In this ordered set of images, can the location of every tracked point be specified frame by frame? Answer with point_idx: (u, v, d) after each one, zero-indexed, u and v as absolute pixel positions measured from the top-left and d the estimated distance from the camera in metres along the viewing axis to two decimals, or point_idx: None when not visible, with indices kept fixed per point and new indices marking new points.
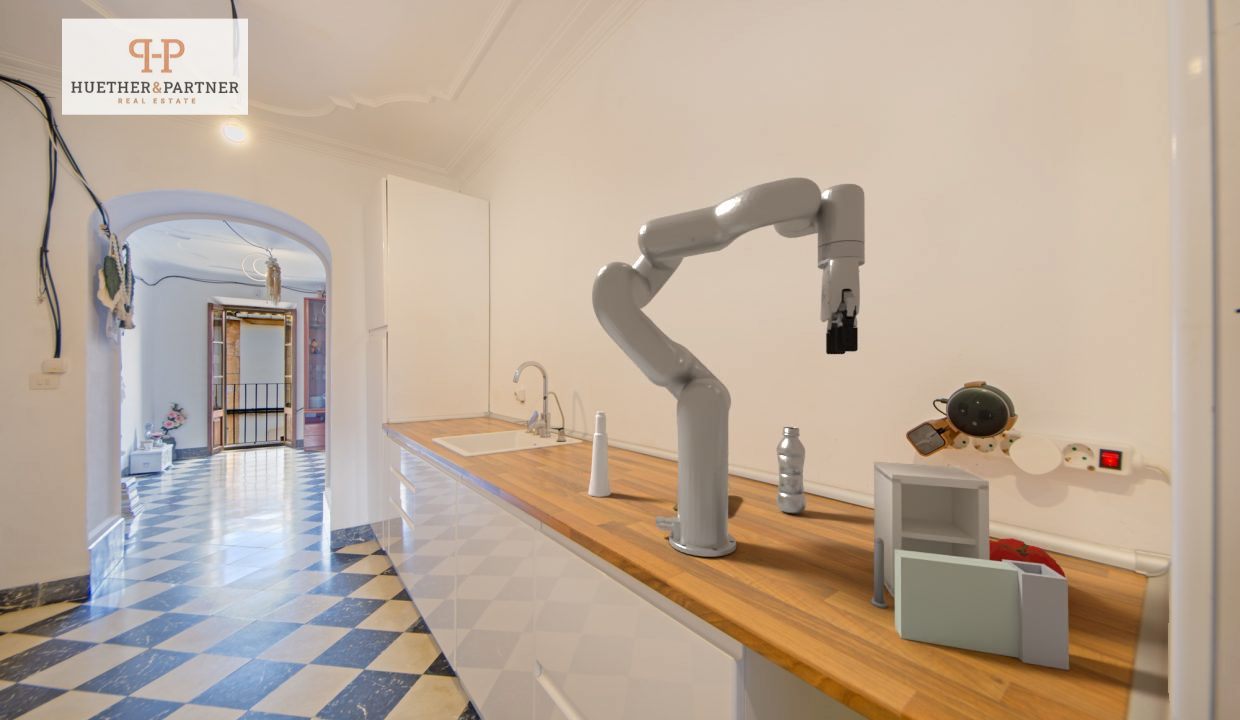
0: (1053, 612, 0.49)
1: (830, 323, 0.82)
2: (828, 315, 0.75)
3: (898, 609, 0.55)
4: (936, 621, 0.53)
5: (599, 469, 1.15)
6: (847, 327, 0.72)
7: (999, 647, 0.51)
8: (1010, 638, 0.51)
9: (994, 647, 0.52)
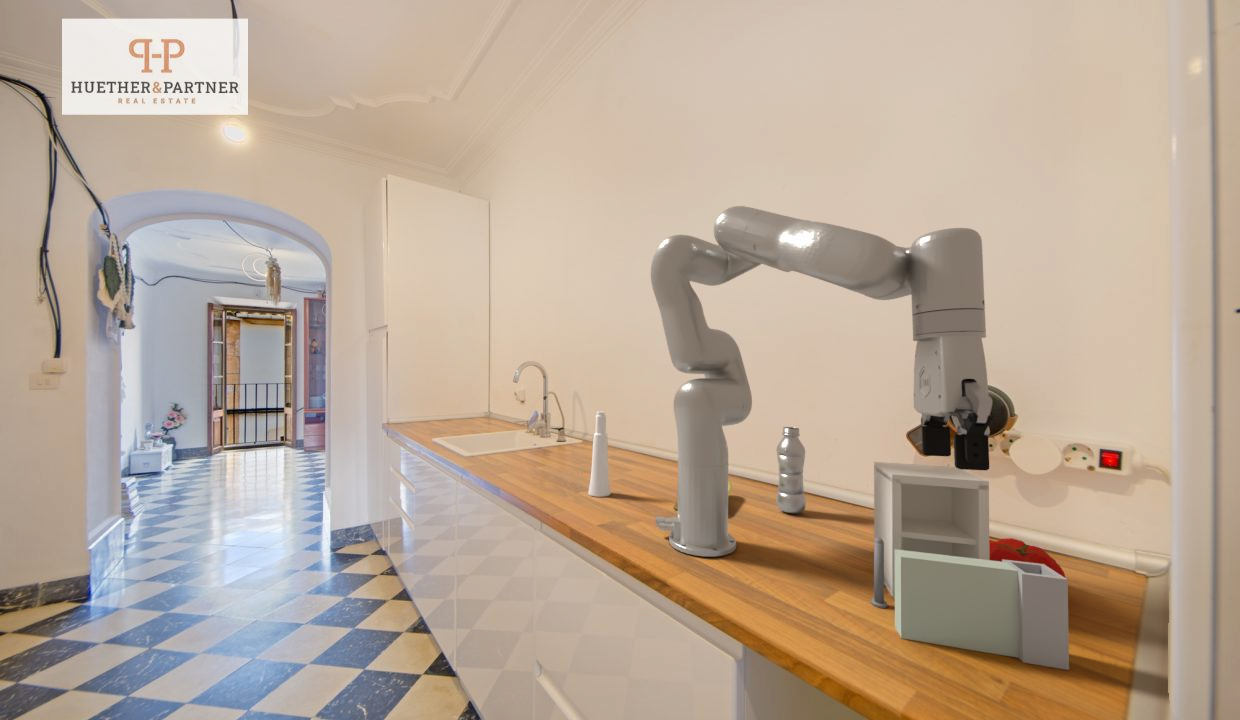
0: (1053, 612, 0.49)
1: (929, 414, 0.60)
2: (940, 414, 0.53)
3: (898, 609, 0.55)
4: (936, 621, 0.53)
5: (599, 469, 1.15)
6: (974, 436, 0.50)
7: (999, 647, 0.51)
8: (1010, 638, 0.51)
9: (994, 647, 0.52)
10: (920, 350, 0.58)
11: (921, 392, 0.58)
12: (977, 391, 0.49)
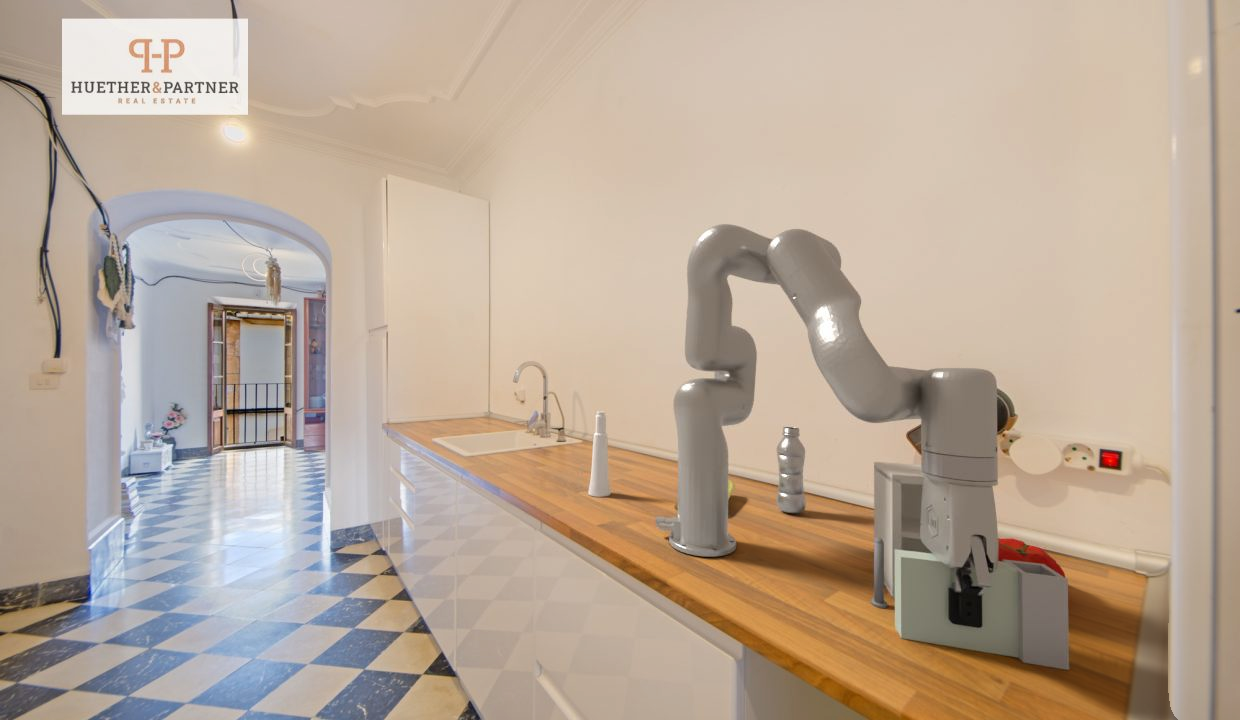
0: (1053, 612, 0.49)
1: None
2: (947, 565, 0.51)
3: (898, 609, 0.55)
4: (936, 621, 0.53)
5: (599, 469, 1.15)
6: (968, 595, 0.51)
7: (999, 647, 0.51)
8: (1010, 638, 0.51)
9: (994, 647, 0.52)
10: (928, 485, 0.56)
11: (928, 529, 0.56)
12: (980, 567, 0.49)
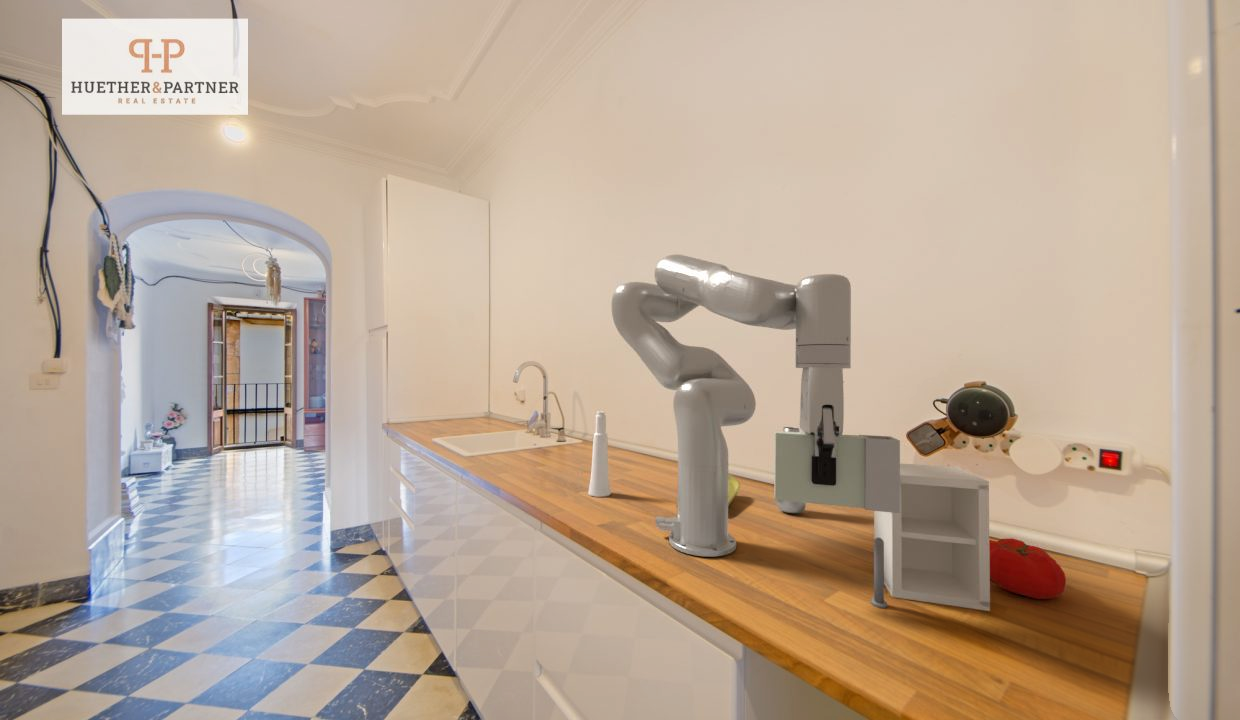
0: (889, 467, 0.61)
1: None
2: (806, 433, 0.62)
3: None
4: (802, 483, 0.65)
5: (599, 469, 1.15)
6: (824, 458, 0.63)
7: (849, 501, 0.63)
8: (858, 492, 0.63)
9: (846, 501, 0.63)
10: None
11: (801, 412, 0.67)
12: (827, 429, 0.60)
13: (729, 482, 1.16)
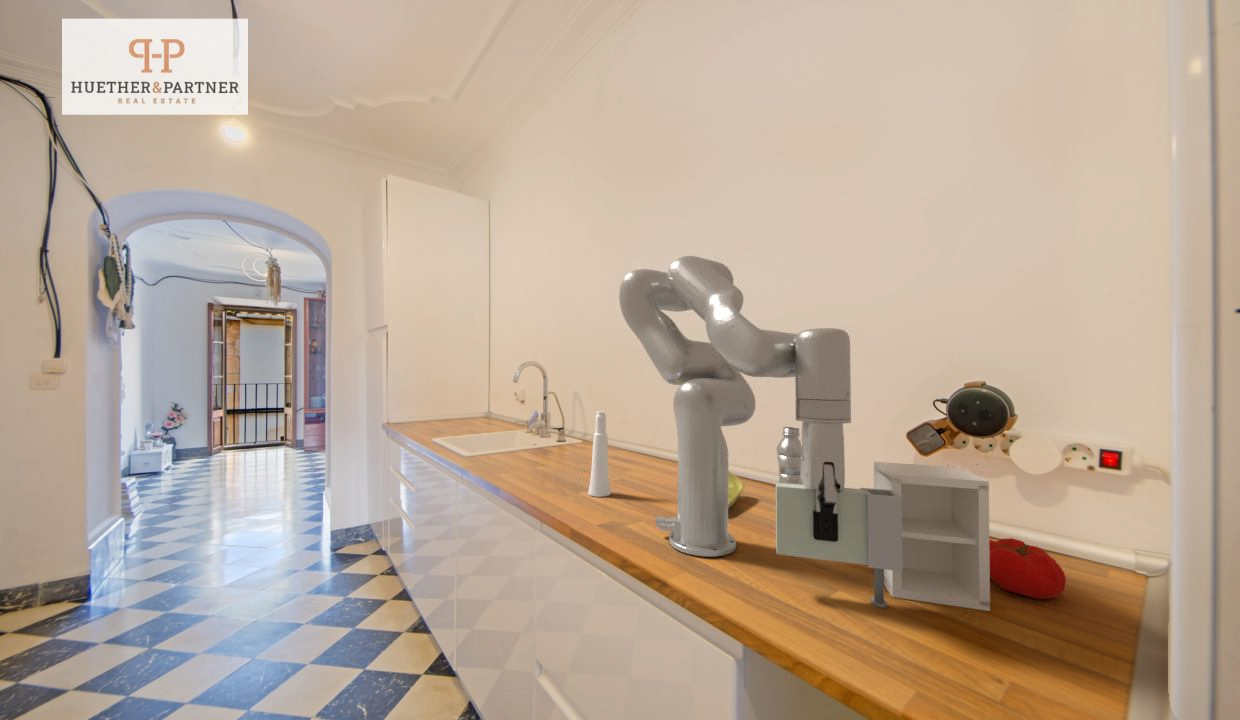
0: (891, 525, 0.60)
1: None
2: (807, 489, 0.62)
3: (776, 531, 0.66)
4: (804, 538, 0.64)
5: (599, 469, 1.15)
6: (826, 514, 0.62)
7: (852, 557, 0.62)
8: (860, 549, 0.62)
9: (848, 557, 0.62)
10: (802, 428, 0.67)
11: (802, 465, 0.67)
12: (828, 487, 0.60)
13: (733, 483, 1.15)
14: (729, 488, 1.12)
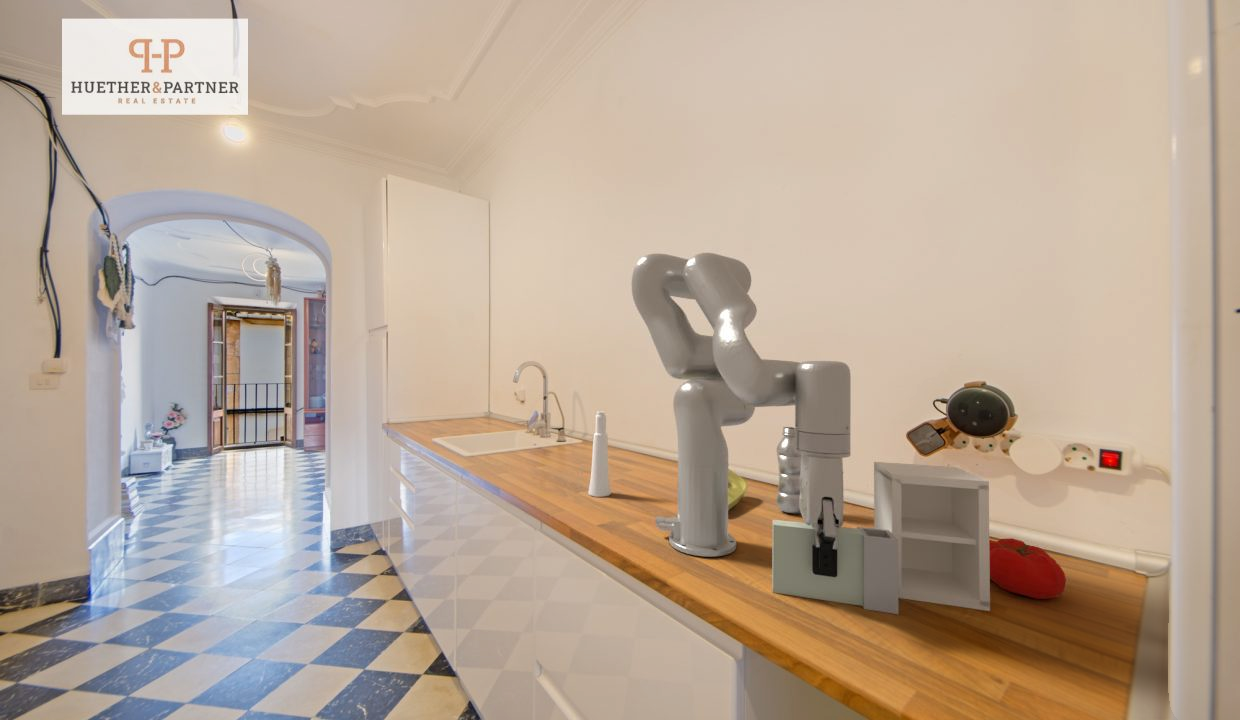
0: (887, 567, 0.60)
1: None
2: (806, 523, 0.62)
3: None
4: (800, 577, 0.64)
5: (599, 469, 1.15)
6: (825, 550, 0.61)
7: (847, 597, 0.62)
8: (856, 590, 0.62)
9: (844, 598, 0.63)
10: (801, 459, 0.67)
11: (800, 496, 0.67)
12: (828, 521, 0.59)
13: (737, 483, 1.15)
14: (732, 489, 1.11)
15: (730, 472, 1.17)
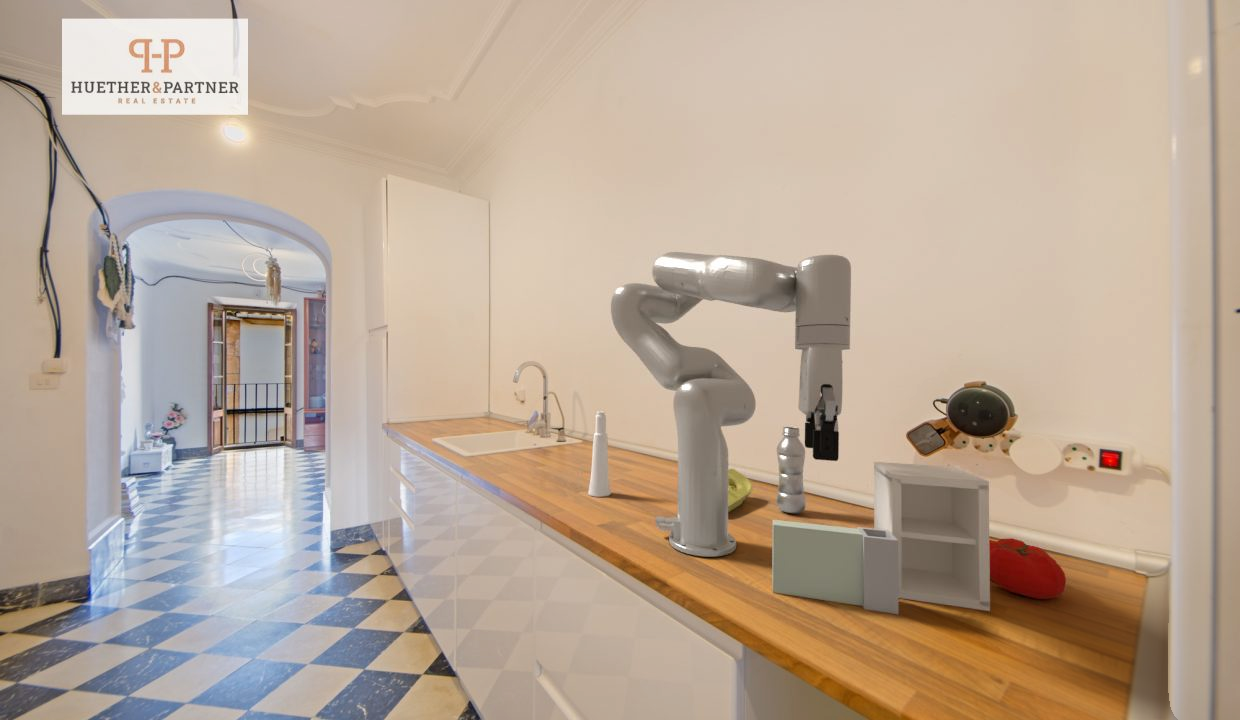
0: (887, 567, 0.60)
1: (809, 412, 0.70)
2: (805, 413, 0.63)
3: None
4: (800, 577, 0.64)
5: (599, 469, 1.15)
6: (826, 432, 0.60)
7: (847, 598, 0.62)
8: (856, 590, 0.62)
9: (844, 598, 0.63)
10: (801, 357, 0.68)
11: (800, 393, 0.68)
12: (828, 395, 0.59)
13: (743, 484, 1.14)
14: (736, 489, 1.10)
15: (736, 473, 1.16)
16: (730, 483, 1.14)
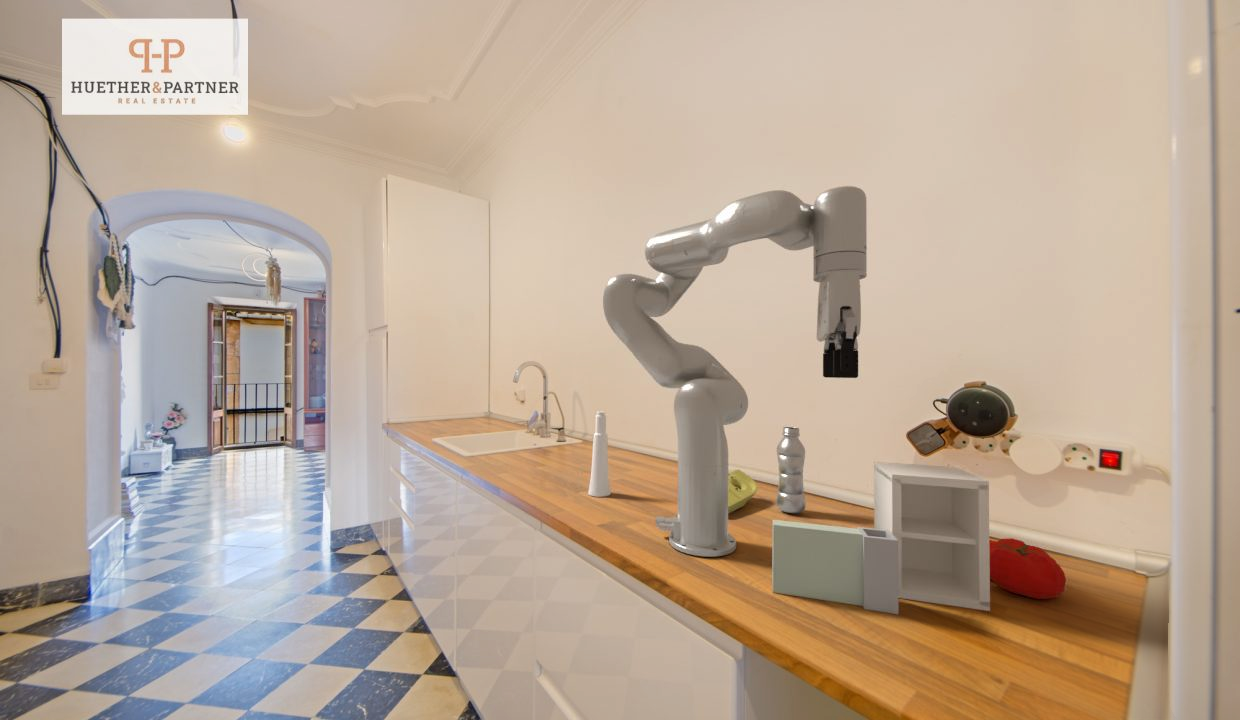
0: (887, 567, 0.60)
1: (827, 343, 0.73)
2: (825, 336, 0.66)
3: None
4: (800, 577, 0.64)
5: (599, 469, 1.15)
6: (846, 350, 0.63)
7: (847, 598, 0.62)
8: (856, 590, 0.62)
9: (844, 598, 0.63)
10: (819, 289, 0.71)
11: (818, 323, 0.71)
12: (848, 313, 0.62)
13: (748, 485, 1.13)
14: (740, 490, 1.10)
15: (741, 474, 1.16)
16: (735, 484, 1.14)
